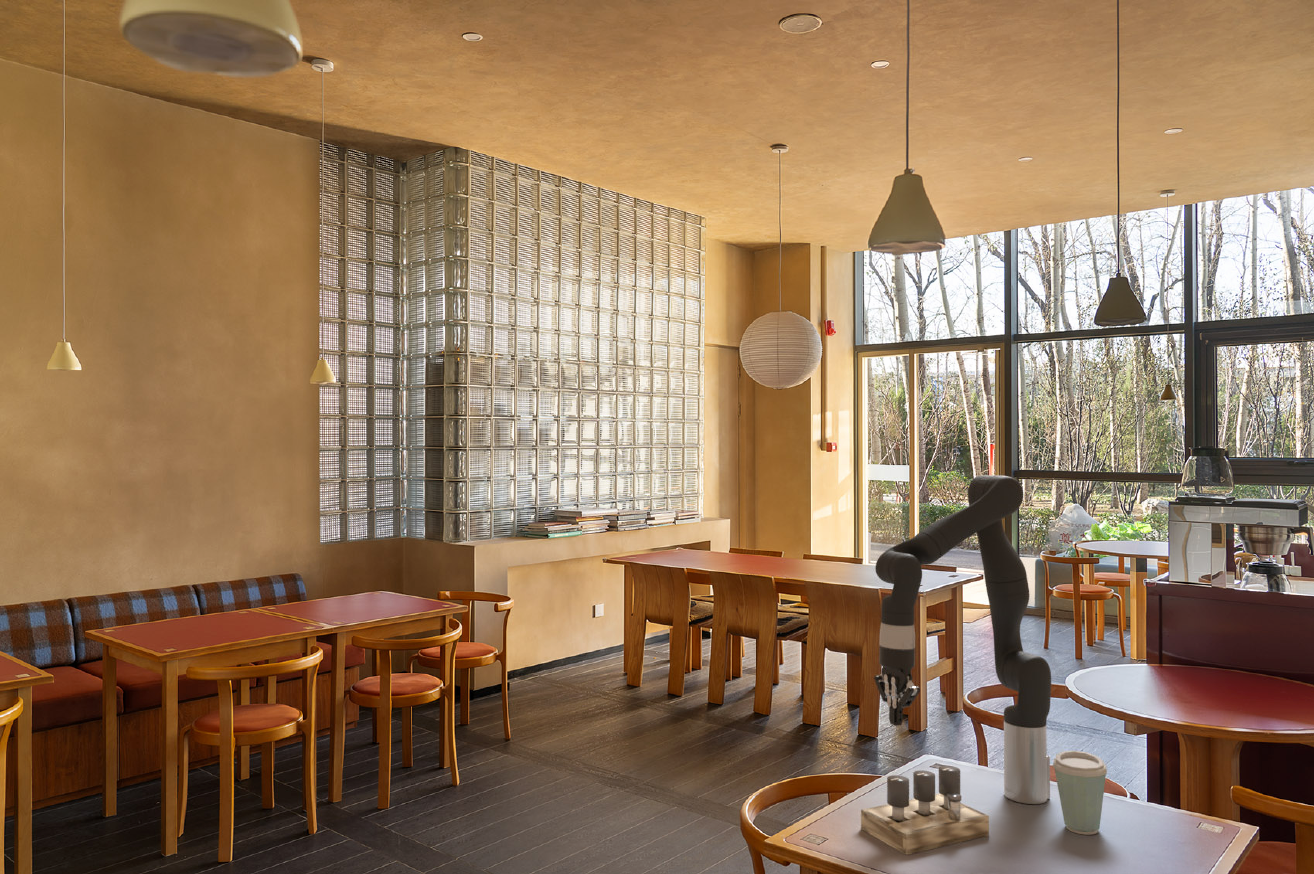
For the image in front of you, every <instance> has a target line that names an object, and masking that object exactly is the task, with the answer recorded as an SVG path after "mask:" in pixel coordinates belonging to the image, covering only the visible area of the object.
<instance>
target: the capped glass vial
mask: <svg viewBox="0 0 1314 874" xmlns="http://www.w3.org/2000/svg"><path fill="white" fill-rule="evenodd" d="M947 799H948V818H949V819H950V820H953V821H959V820H961V807H960V803H961V801H962V795H961V793H960V794H957V793H948V794H947Z"/></svg>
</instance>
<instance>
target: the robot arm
mask: <svg viewBox="0 0 1314 874" xmlns="http://www.w3.org/2000/svg"><path fill="white" fill-rule="evenodd" d="M1023 501H1024V490H1023V487H1022V484H1021V483H1020V482H1019V480H1017V479H1016V478H1014V477H1011V476H1007V475H993V474H991V475H989V474H982V475H977V476H975V477H973V478H972V480H971V481H970V483H969V484H968V488H967V502H968V506H966V507H964V508H962V509H960V510H958V511H956V512H953V513H950V514H948V515H945V516H944V517H942V518H939V519H938V520H936V521H934V522H932V523H931V524H929V525H927V526H926V527H925V528H924V529H923V530H921V531H920V532H918V533H917V534H916V535H915V536H913V537H912V538H910V539H908V540H904V541H902V542H900V543H898V544H896V545H894V546H892V547H889V548H888V549H886V550H885V551H884V552H882V553H881V554H880V556H879V557H878V558H877V560H876V562H875V568H874V569H875V573H876V575H877V577H878V578H879V579H880V580H881V581H883V582H885V583H888V584H891V585H892V586H893V587H892V590H891V594H889V595H886V596H884V597H883V598H882V601H881V607H880V608H881V610H880V611H881V612H880V627H879V642H878V643H879V646H878V649H879V650H878V651H879V655H878V663H879V665H880V666H881V667H882V668H881V669H880V671H881V673H880V674H879V675H874V676H873V679H874V682H875V685H876V687H877V689H878V693H879V694H880V697H881V699H882V702H886V703H887V706H888V707H889V709H888V712H889V713H888V719H889V724H890V725H893V726H895V727H896V726H897V727H898V726H902V724H903V721H904V708H909V707H911V705H912V704H913V702H914V700H915V699H916V698H917V696H918V695H919V693H920V692H921V688H920V687H919V686H915V684H914V683H913V675H912V670H913V668H914V667H915V665H916V664H915V662H916V632H915V631H916V630H915V606H916V603H917V599H918V595H919V591H920V588H921V584H922V579H923V569H922V566H923V565H924V566H925V565H926V566H927V565H931V564H933V563H935V562H937V561H938V560H939V559H941V558H942V557H943V556H945V555H946V554H947V553H949V552H950V551H951V550H952V549H954V548H955V547H956V546H958V545H959V544H960V543H962V542H964V541H965V540H967V539H969V538H971V536H973V535H975V534H976V536H977V539H978V540H977V541H978V546H979V551H980V557H981V562H982V567H983V573H984V583H985V587H986V594H987V595H986V596H987V598H988V603H989V611H990V618H991V625H992V633H993V634H992V635H993V652H994V667H995V673H996V676H997V679H998V681H999V682H1000V684H1001V685H1002V686H1003V687H1005V689H1010V690H1012V691H1015V692H1017V702H1016V704H1013V705H1008V706H1006V707H1004V709H1003V779H1004V781H1003V783H1004V785H1003V787H1004V790H1003V792H1004V793H1003V794H1004V796H1005V797H1006V798H1007V799H1009V800H1011V801H1014V802H1016V803H1021V804H1027V805H1041V804H1044V803H1046V802H1047V801H1048V799H1050V798H1051V762H1050V760H1051V757H1050V756H1049V755H1047V754H1048V750H1047V749H1048V747H1047V746H1048V743H1047V738H1048V737H1047V736H1048V735H1047V733H1048V732H1047V731H1048V730H1047V729H1048V728H1047V725H1048V723H1047V722H1048V721H1047V720H1048V716H1049V714H1050V709H1051V695H1052V693H1051V692H1052V672H1051V668H1050V664H1049V662H1048V661H1047V660H1046V659H1045V658H1044V657H1042V656H1041V655H1036V654H1034V653H1029V652H1025V651H1024V648H1023V646H1022V645H1023V644H1022V638H1021V624H1022V620H1023V617H1024V616H1025V614H1026V611H1027V608H1028V605H1029V601H1030V589H1029V588H1030V587H1029V582H1028V581H1029V580H1028V575H1027V571H1026V567H1025V564H1024V562H1023V561H1022V559H1021V557H1020V555H1019V554H1018V552H1017V551H1016V549H1015V548H1014V546H1013V545H1012V543H1011V541H1010V540H1009V538H1008V536H1007V535H1006V532H1005V528H1004V526H1003V519H1004V518H1006V517H1009V516H1010V515H1013V514H1014V513H1016V512H1017V511H1018V510H1019V509H1020V507H1021V506H1022V503H1023Z"/></svg>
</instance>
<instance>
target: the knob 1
mask: <svg viewBox="0 0 1314 874" xmlns="http://www.w3.org/2000/svg"><path fill="white" fill-rule="evenodd" d="M886 797H887V798H886V803H887V804H889V805H890V806H892V818H893V819H894V820H899V821H900V820H904V807H908V806H909V800H910V779H909V778H908V777H907V776H903V775H898V774H897V775H896V774H895V775H889V776H887V777H886Z"/></svg>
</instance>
